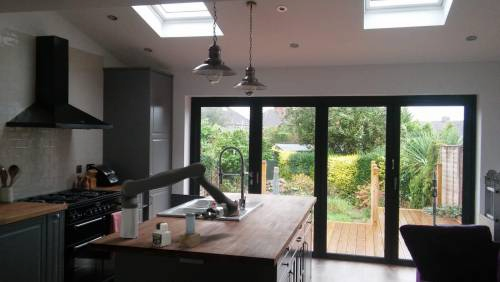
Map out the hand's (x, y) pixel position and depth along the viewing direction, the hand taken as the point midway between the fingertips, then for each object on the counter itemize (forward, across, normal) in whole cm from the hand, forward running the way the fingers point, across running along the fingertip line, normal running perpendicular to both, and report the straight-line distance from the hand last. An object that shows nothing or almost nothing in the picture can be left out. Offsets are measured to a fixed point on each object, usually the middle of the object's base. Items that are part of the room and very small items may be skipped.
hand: (198, 217), depth 236 cm
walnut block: (+7, 0, +14) cm, 16 cm away
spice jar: (+7, 0, +8) cm, 11 cm away
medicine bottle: (+15, -13, +14) cm, 25 cm away
